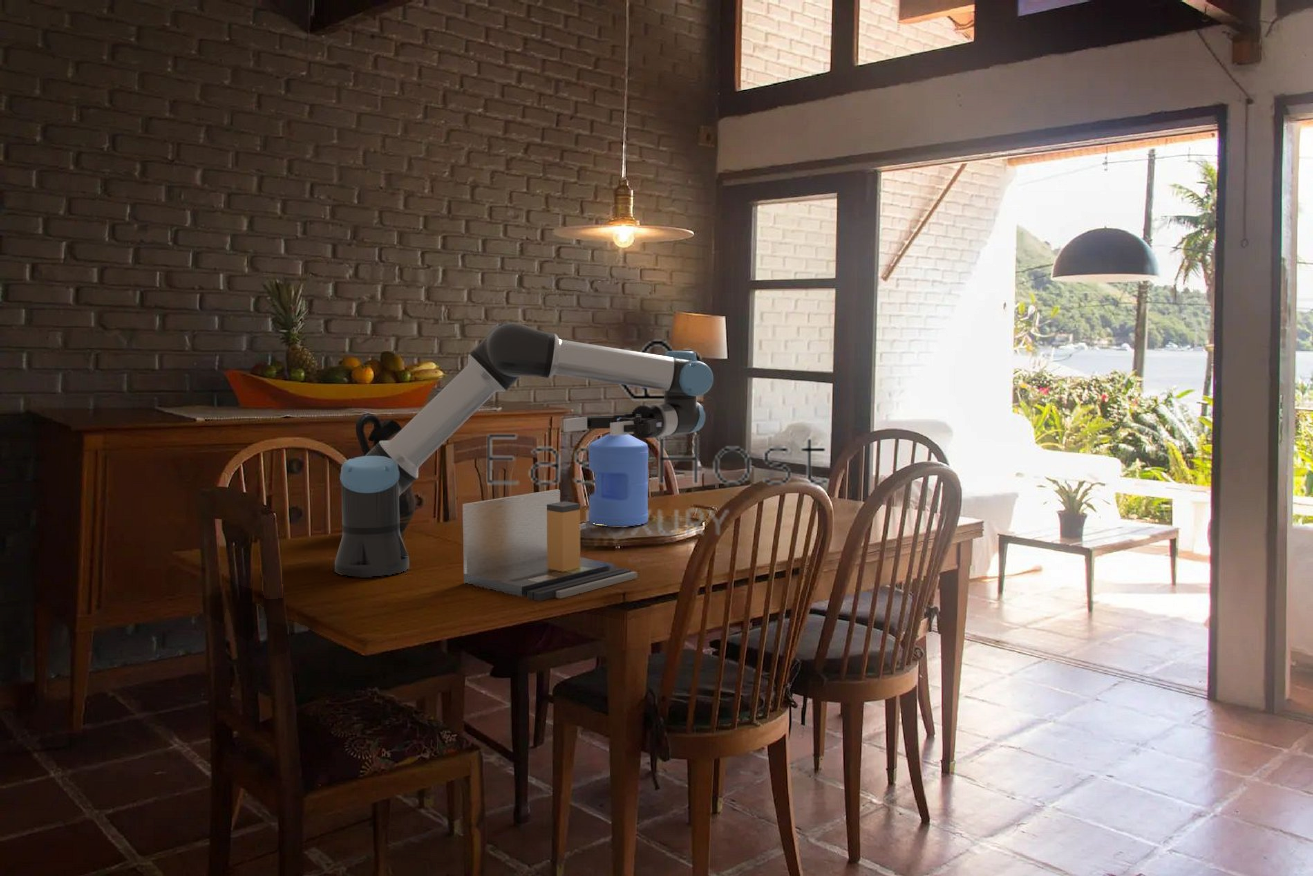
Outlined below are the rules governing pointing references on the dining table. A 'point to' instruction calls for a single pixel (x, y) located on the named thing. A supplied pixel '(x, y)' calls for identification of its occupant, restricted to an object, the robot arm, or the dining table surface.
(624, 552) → the dining table surface
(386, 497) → the robot arm
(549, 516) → the lever
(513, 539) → the l-shaped metal bracket
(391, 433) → the ceramic jug
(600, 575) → the long grooved rail
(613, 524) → the water jug
